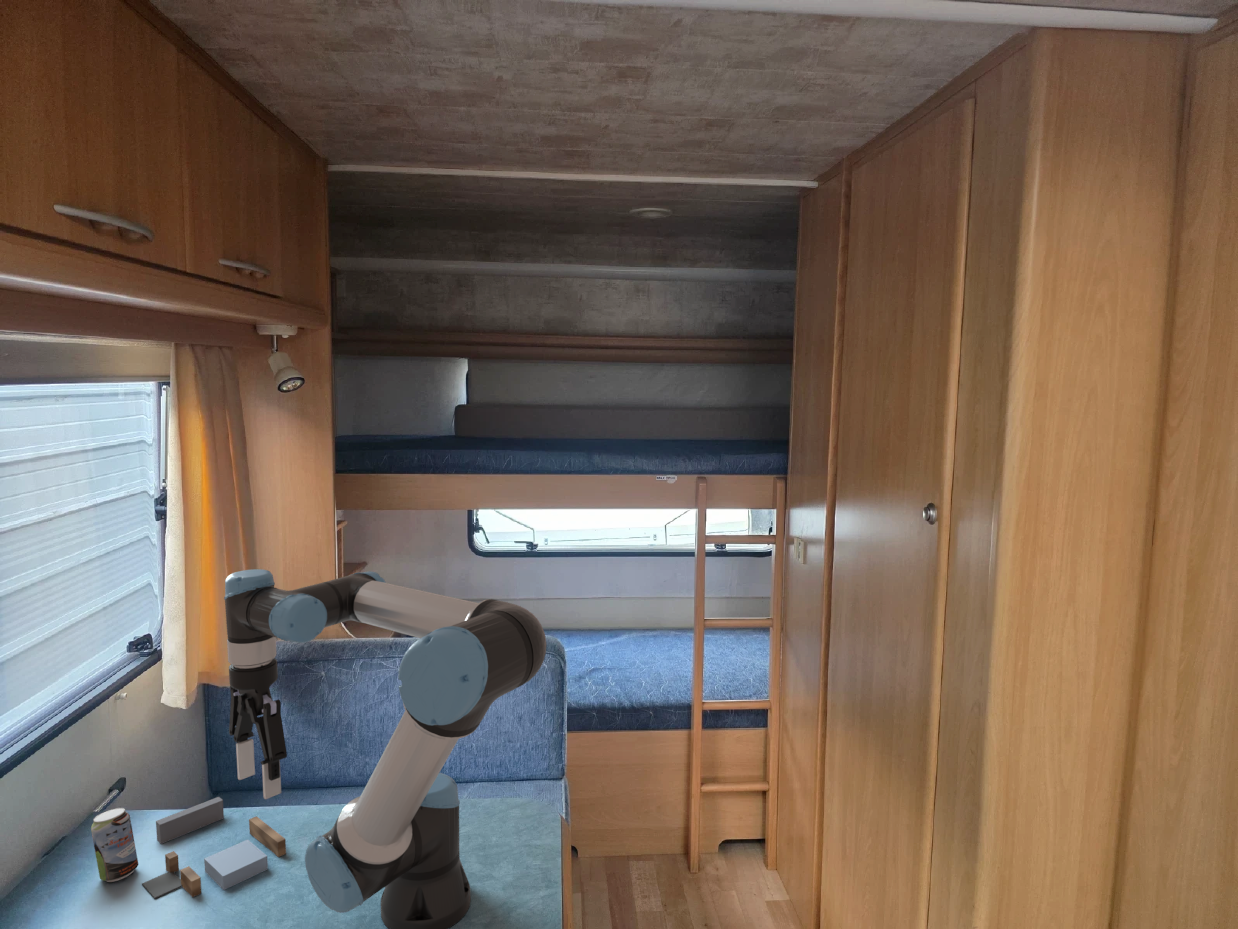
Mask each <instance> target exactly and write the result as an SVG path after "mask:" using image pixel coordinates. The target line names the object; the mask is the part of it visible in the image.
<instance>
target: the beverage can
mask: <svg viewBox="0 0 1238 929" xmlns="http://www.w3.org/2000/svg"><path fill="white" fill-rule="evenodd" d="M131 820H132V819H131V815H130V814H129V812H127V811H126V809H125V808H124V807H116V808H112V809H109V810H107V811H103V812H102V813H99V814H97V815H96V816H95V817H93V823H92V824H91V827H90V831H91V836H92V842H93V848H94V854H95V859H96V865H97V870H98V876H99V879H100V880H101V881H103V882H104V881H106V882H107V883H112V882H117V881H121V880H123V879H125V878H127V877H128V876H130V875H131V874H133V873H134V872H135V870H136V869H137V868H138V866H139V860H138V855H137V854H138V853H137V849H136V843H135V838H134V837H135V836H134V831H133V826H132V821H131Z"/></svg>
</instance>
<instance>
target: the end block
mask: <svg viewBox="0 0 1238 929" xmlns="http://www.w3.org/2000/svg"><path fill="white" fill-rule="evenodd" d="M224 817H225V814H224V800H223V798H222V797H220V796H217V797H214V798H212V799H209V800H207V801H205V802H202V803H198V804H196V805H193V806H190V807H189V808H185V809H183V810H181V811H178V812H175V813H173V814H171V815H168V816H165V817H162V818H160V819H158V820H155V829H156V830H155V831H156V841H158V843H159V844H160V845H162V844H164V843H167V842H169V841H172V840H175V839H177V838H180V837H182V836H184V835H187V834H189V833H191V832H194V831H196V830H199V829H201V828H204V827H206V826H208V825H211V824H213V823H215V822H219V821H220V820H224Z"/></svg>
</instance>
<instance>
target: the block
mask: <svg viewBox="0 0 1238 929" xmlns="http://www.w3.org/2000/svg"><path fill="white" fill-rule="evenodd" d="M203 864H204V872H205V873H206V874H207V875H208V877H210V879H212V881H213V882H215V883H216V884H217V885H218V886H219V887H220V888H221V889H222V890H223V891H225V890H227V889H229V888H231V887H233V886H235V885H238V884H240V883H242V882H244V881H246V880H248V879H250V878H252V877H254V876H257V875H259V874H261V873H262V872H265V871H267V870H268V869H269V868H268V855H267V854H266V853H264V852H263V850H261V849H260V848H258V846H256V845H255V844H254V843H253V842H251V841H250V839H246V840H243V841H241V842H239V843H237V844H234V845H232V846H229V847H227V848H225V849H223V850H221V851H218V852H215V853H213V854H211V855H209V856H207V857H204V863H203Z"/></svg>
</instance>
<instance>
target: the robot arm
mask: <svg viewBox="0 0 1238 929" xmlns="http://www.w3.org/2000/svg"><path fill="white" fill-rule="evenodd" d="M224 585H225V587H224V589H225V592H224V598H223V600H224V604H225V605H224V607H225V621H226V622H225V623H226V635H227V639H226V646H227V662H228V664H230V665H229V666H228V677H229V678H228V679H229V691H230V706H229V726H228V734H229V735H230V736H233V741H234V742H235V748H236V749H235V750H236V751H235V752H236V770H237V779H238V781H241V780H244V779H246V778H249V777H252V776H255V775H256V768H255V746H254V739H253V738H252V737H255V733H254V732H253V728H254V725H255V726H256V730H257V736H258V740H259V742H260V743H259V744H260V746H261V751H262V754H263V758H264V760H261V761H260V764H261V772H262V795H263V799H264V800H268V799H270V798H272V797H274V796H275V797H276V796H277V795H280V794H282V780H281V779H282V778H281V762H280V761H281V760H284V759H286V758H288V752H287V747H286V740H285V733H284V727H283V726H284V725H283V720H282V713H281V712H282V711H281V710H282V702H281V700H280V699H279V698H278V699H275V700H273V697H272V694H271V690H270V689H271V688H270V687H271V686H272V685H273V684H275V682H276V681H278V678H279V675H278V674H279V671H278V660H277V659H276V656H277V641H279V640H278V639H280V640H281V641H285V642H289V643H300V644H303V643H309V642H311V641H313V640H315V639H316V637H317V636H318V635H320V634H321V633H323V630H325V629H326V628H328V627H332V626H334V625H338V624H341V623H344V622H348V621H354V622H357V623H362V624H365V625H366V624H367V625H370V626H374V627H378V628H381V629H385V630H388V631H392V632H395V633H399V634H403V635H407V636H411V637H415V638H417V640H416V641H414V642H413V643H412V644H411V645H410V646H409V647H408V648H407V650H406V651H405V653H404V654H403V657H402V659H401V661H400V665H399V668H398V675H397V677H398V678H397V679H398V680H399V681H401V684H400V685H399V686H398V691H399V695H400V699H401V701H402V704H403V705H402V706H403V709H404V710H405V711H404V712H403V714H402V716H401V718H400V720H399V721H398V723H397V726H396V727H395V730H394V732H393V733H392V735H391V737H390V739H389V741H388V743H387V745H386V747H385V749H384V750H383V753H382V754H381V756H380V759H379V761H378V762H377V764H376V766H375V768H374V770H373V771H372V774H371V776H370V777H369V779H368V781H367V783H366V785H365V787H364V788H363V791H362V793H361V795H360V796H358V797H355V798H353V799H351V800H350V801H349V802H348V803H346V805H345V806H344V807H343V808H342V810H341V811H340V813H339V815H338V817H337V818H336V820H335V823H334V825H333V826H332V827H331V829H330V830H329V831H327V832H326V833H324V834H322V835H319V836H317V837H316V838H315V839H313V841H311V842H309V844H308V846H307V847H306V849H305V854H304V864H305V870H306V873H307V876H308V880H309V882H310V884H311V887H312V889H313V890H314V892H315V894H316V895H317V897H318V898H319V900H320V901H321V902H322V903H323V904H324V906H326V907H327V908H328V909H330V910H332V911H334V912H337V913H339V914H342V913H343V914H344V913H347V912H350V911H351V910H353V909H355V908H357V907H358V906H362V905H363V904H364V902H365V901H367V900H369V899H370V898H371V897H373V896H374V895H376V894H377V893H379V891H381V890H383V889H384V890H383V892H382V893H381V894H382V895H381V898H380V917H381V921H382V923H383V924H384V925H385V927H387V929H449V928H451V927H452V926H454V925H456V924H457V923H458V922H460V920H462V919H463V918H464V917H465V916H466V914H467V913H468V911H469V909H470V905H471V899H472V898H471V897H472V896H471V886H470V885H471V884H470V882H469V879H468V877H467V874H466V871H465V869H464V867H463V863H462V861H461V856H460V803H461V802H460V799H459V792H458V791H459V790H458V784H457V783H456V781H455V780H454V778H453V777H451V776H450V775H447V774H445V773H443V772H441V770H442V769H443V767H444V765H445V764H446V762H447V760H448V758H449V757H450V755H451V753H452V752H453V749H454V748H455V746H456V744H457V743H458V741H459V739H463V738H466V737H467V736H470V735H471V734H473V733H474V732H475V731H476V730H477V729H478V727H479V726H480V724H481V723H482V721H483V720H484V717H485V716H486V714H487V712H488V711H489V709H490V707H491V705H493V703H494V702H496V700H497V699H498V698H501V697H502V696H504V695H506V694H508V693H510V692H512V691H514V690H515V689H518V688H520V687H522V686H523V685H526V684H527V683H528V682H529V681H531V680H532V679H533V678H534V677H535V676H536V674H538V672H539V671H540V669H541V667H542V665H543V663H544V662H545V657H546V653H547V637H546V633H545V631H544V628H543V626H542V624H541V622H540V621H539V619H538V617H536V615H534V613H532V612H530V610H528V609H527V608H525V607H523V606H521V605H518V604H514V603H510V602H506V601H502V600H498V599H493V598H491V599H490V598H488V599H484V600H481V601H480V602H475V601H472V600H471V601H470V600H465V599H461V598H457V597H454V596H447V595H443V594H438V593H433V592H429V591H425V590H419V589H416V588H411V587H406V586H401V585H396V584H392V583H389V582H386V581H385V579H384V577H381V576H380V574H379V573H378V572H376V571H371V570H370V571H364V572H355V573H352V574H349V575H346V576H342V577H338V578H335V579H332V580H331V579H330V580H327V581H323V582H319V583H315V584H311V585H307V586H303V587H300V588H295V589H291V590H286V589H280V588H277V587H275V585H276V584H275V581H274V575H273V573H272V572H271V571H270V570H268V569H262V568H261V569H260V568H258V569H257V568H256V569H253V568H252V569H245V570H240V571H235V572H232V573H231V574H229V575H228V576H227V577H226V578H225V584H224Z"/></svg>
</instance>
